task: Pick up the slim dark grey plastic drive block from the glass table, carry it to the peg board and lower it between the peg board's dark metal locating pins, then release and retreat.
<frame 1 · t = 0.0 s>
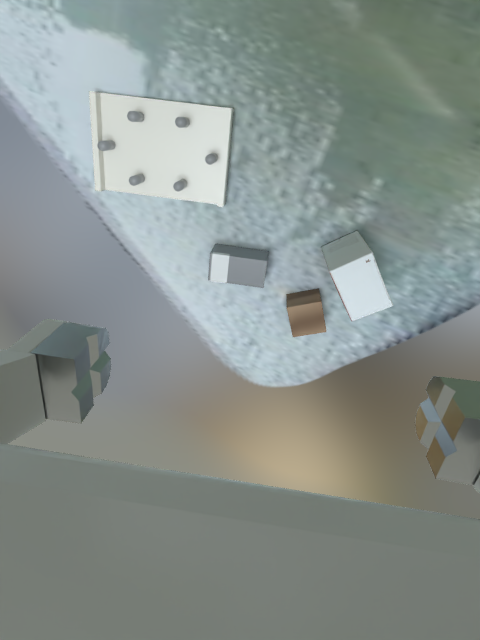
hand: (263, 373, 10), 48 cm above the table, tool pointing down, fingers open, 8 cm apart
walnut block: (305, 305, 61), on the table
small box: (348, 261, 57), on the table
drive: (240, 259, 59), on the table
peg board: (164, 150, 53), on the table
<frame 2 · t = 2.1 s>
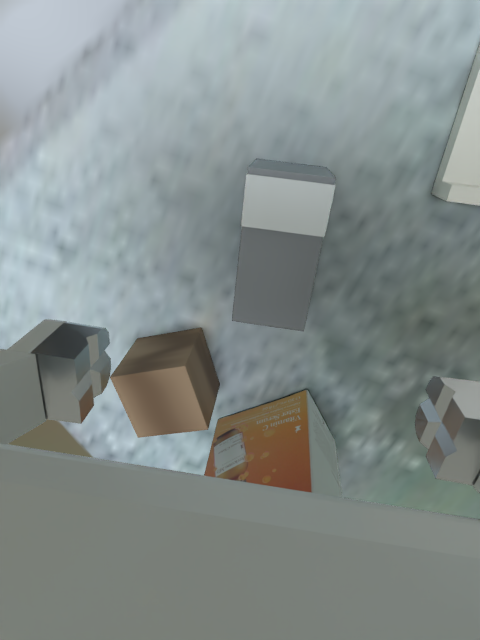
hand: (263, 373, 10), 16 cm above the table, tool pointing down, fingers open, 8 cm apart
walnut block: (179, 361, 29), on the table
small box: (275, 427, 31), on the table
drive: (280, 231, 24), on the table
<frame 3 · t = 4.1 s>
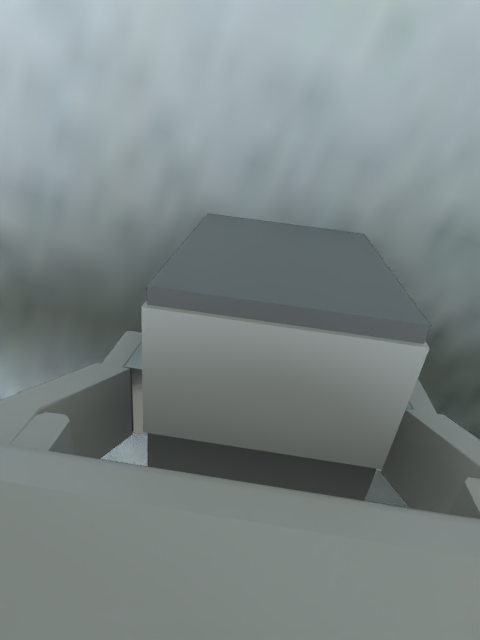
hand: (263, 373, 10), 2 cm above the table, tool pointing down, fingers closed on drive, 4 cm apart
drive: (264, 355, 12), on the table, touching gripper
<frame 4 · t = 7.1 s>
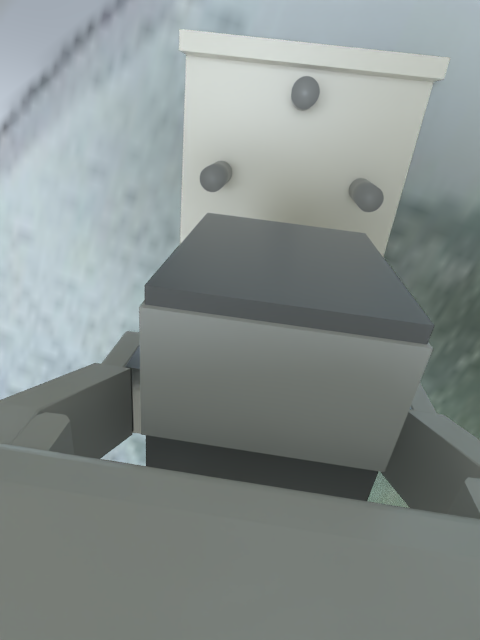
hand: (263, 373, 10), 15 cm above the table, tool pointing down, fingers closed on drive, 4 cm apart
drive: (264, 355, 12), point 14 cm above the table, touching gripper
peg board: (281, 230, 23), on the table
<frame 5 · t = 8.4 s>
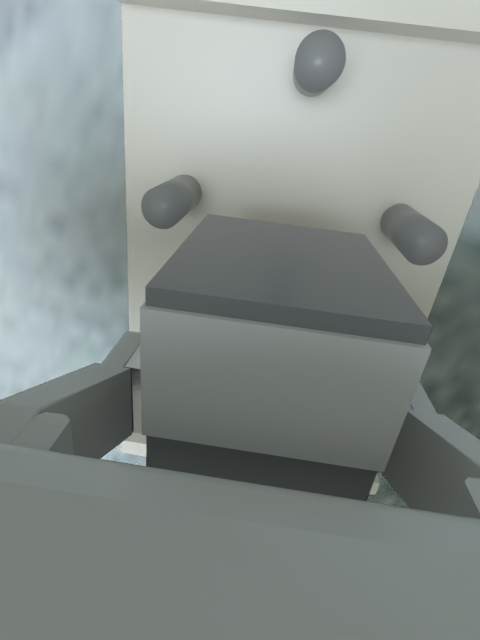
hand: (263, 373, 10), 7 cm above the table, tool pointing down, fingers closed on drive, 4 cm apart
drive: (264, 356, 12), point 5 cm above the table, touching gripper
peg board: (277, 275, 16), on the table
when the fingers open (3 cm above the table, at t = 9.6 s): drive stays where it is, resting on peg board.
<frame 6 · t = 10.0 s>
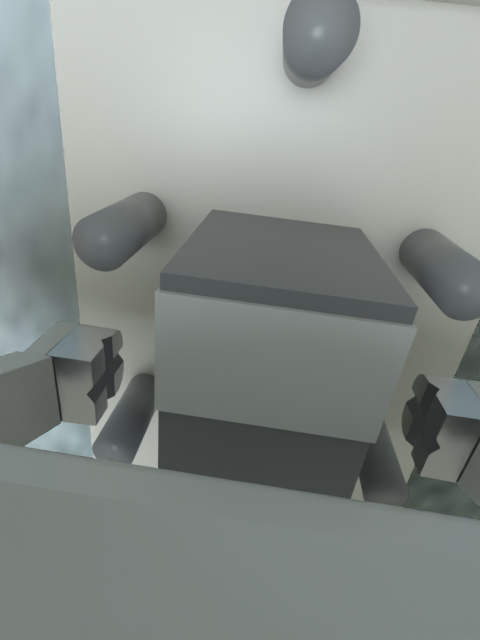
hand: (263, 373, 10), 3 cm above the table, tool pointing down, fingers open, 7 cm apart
drive: (265, 345, 12), point 1 cm above the table, touching peg board
peg board: (267, 313, 13), on the table
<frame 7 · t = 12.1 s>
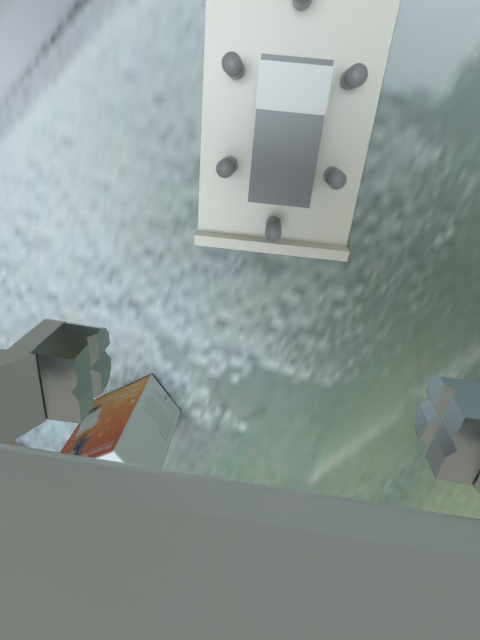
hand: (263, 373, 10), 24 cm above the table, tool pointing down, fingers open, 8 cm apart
small box: (138, 403, 42), on the table
drive: (285, 134, 28), point 1 cm above the table, touching peg board
peg board: (285, 124, 28), on the table
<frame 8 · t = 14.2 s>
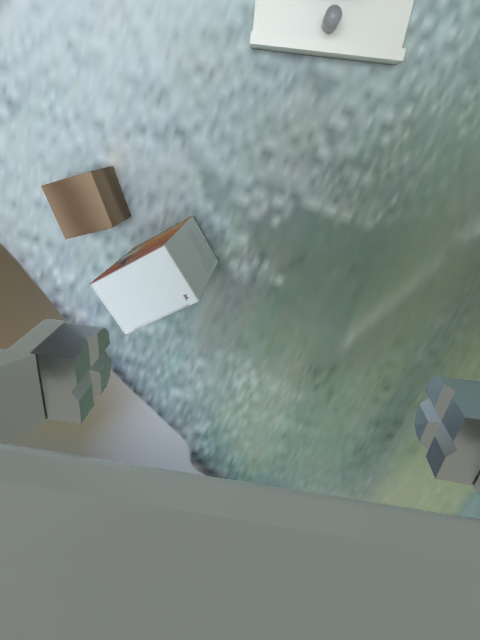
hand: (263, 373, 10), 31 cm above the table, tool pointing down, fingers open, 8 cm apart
walnut block: (100, 197, 40), on the table
small box: (175, 254, 42), on the table
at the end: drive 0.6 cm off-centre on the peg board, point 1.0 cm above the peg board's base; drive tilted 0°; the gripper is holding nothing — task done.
